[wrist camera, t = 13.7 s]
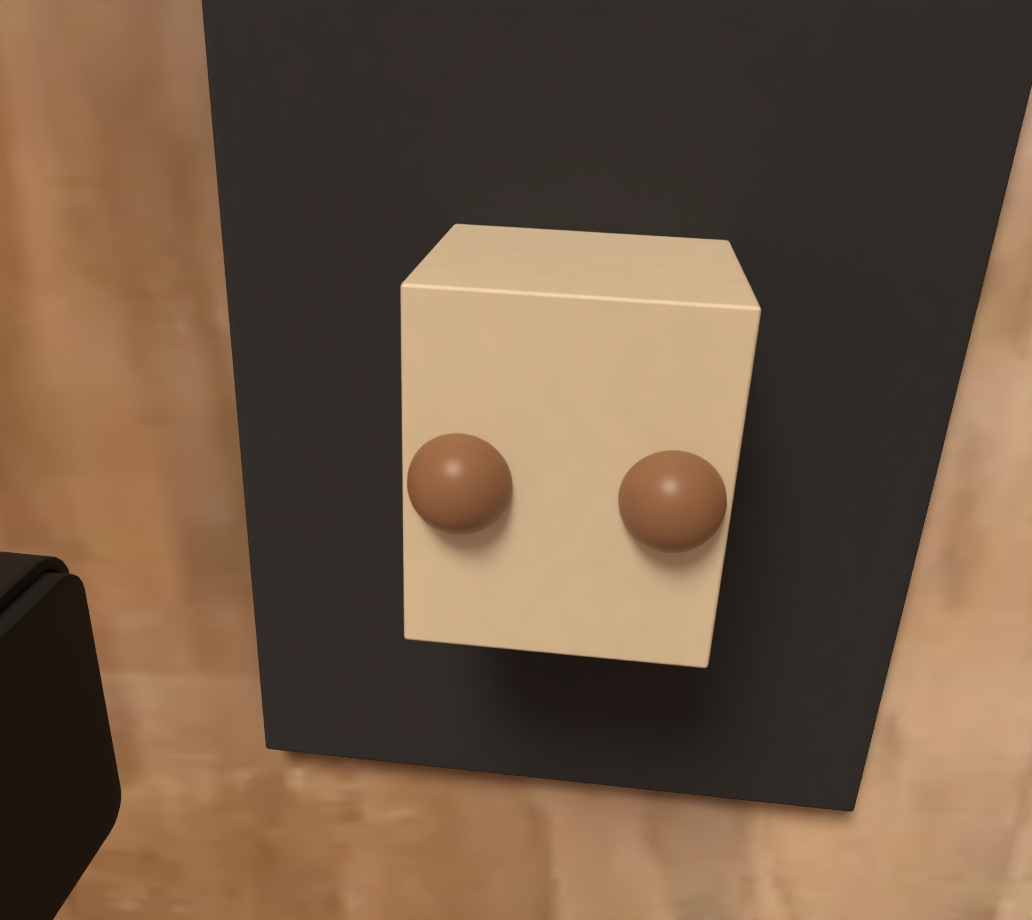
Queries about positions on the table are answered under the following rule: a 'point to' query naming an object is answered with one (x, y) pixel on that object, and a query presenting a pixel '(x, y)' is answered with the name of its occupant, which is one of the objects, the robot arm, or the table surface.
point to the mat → (621, 210)
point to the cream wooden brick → (572, 440)
